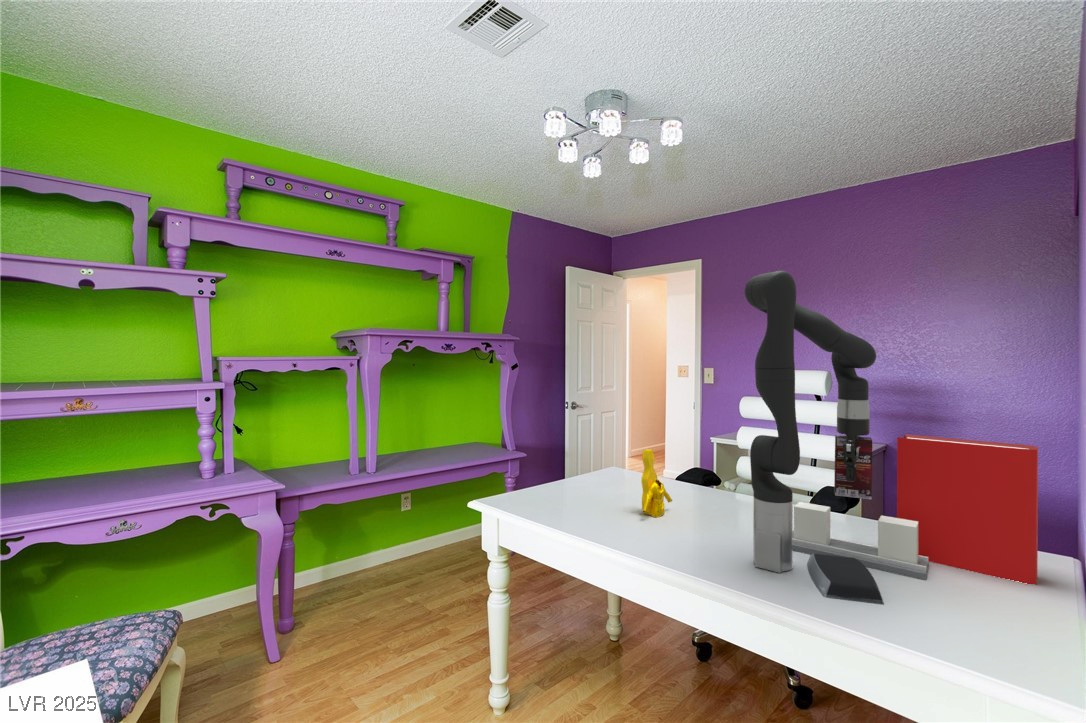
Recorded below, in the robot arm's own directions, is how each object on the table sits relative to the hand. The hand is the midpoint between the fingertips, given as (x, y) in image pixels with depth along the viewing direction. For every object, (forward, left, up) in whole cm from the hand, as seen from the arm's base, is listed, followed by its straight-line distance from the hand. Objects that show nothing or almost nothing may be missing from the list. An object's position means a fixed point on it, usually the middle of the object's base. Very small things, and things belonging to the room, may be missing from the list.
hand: (852, 478), depth 137 cm
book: (+12, -23, -21) cm, 34 cm away
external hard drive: (-20, -1, -22) cm, 30 cm away
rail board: (0, 0, -21) cm, 21 cm away
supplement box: (0, 0, -5) cm, 5 cm away
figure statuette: (-1, +59, -21) cm, 63 cm away
